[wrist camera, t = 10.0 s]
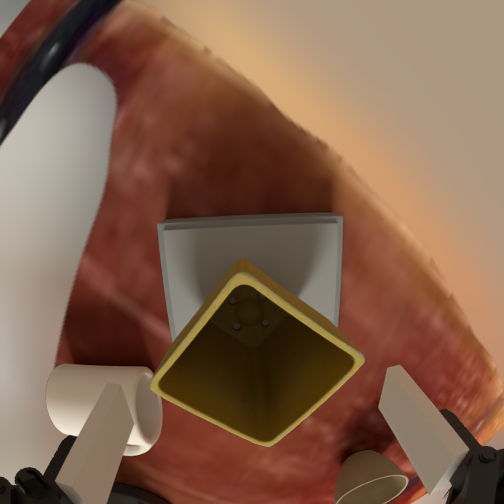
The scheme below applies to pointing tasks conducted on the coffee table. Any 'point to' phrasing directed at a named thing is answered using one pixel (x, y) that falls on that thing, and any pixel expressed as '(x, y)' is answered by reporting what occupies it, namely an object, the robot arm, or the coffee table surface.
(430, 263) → the coffee table surface
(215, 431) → the coffee table surface
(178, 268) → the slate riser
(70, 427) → the mug
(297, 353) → the flower pot
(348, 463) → the round planter pot
